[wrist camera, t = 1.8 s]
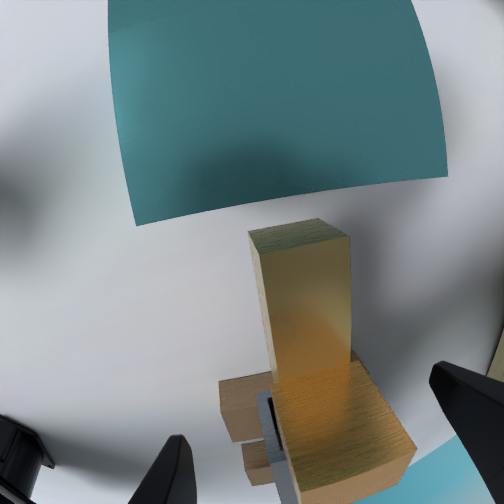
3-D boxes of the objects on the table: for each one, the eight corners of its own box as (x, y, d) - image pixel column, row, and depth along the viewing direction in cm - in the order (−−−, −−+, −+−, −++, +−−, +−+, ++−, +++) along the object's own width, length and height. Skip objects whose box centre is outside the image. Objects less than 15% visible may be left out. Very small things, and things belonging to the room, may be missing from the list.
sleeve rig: (344, 444, 19) (373, 508, 13) (250, 467, 19) (263, 538, 12) (324, 42, 10) (410, -29, 4) (147, 62, 10) (88, -21, 3)
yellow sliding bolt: (327, 478, 16) (352, 545, 10) (287, 489, 15) (306, 558, 9) (326, 216, 10) (468, 300, 3) (238, 232, 9) (284, 364, 3)
